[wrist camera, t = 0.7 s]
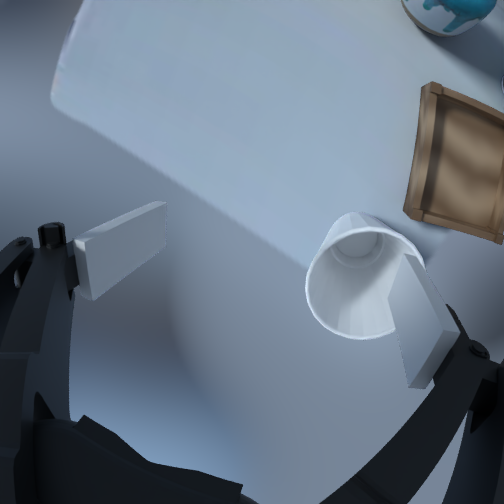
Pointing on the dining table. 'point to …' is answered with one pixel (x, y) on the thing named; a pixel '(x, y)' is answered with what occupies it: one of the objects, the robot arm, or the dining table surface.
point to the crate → (458, 164)
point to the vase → (447, 14)
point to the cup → (356, 276)
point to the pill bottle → (502, 84)
